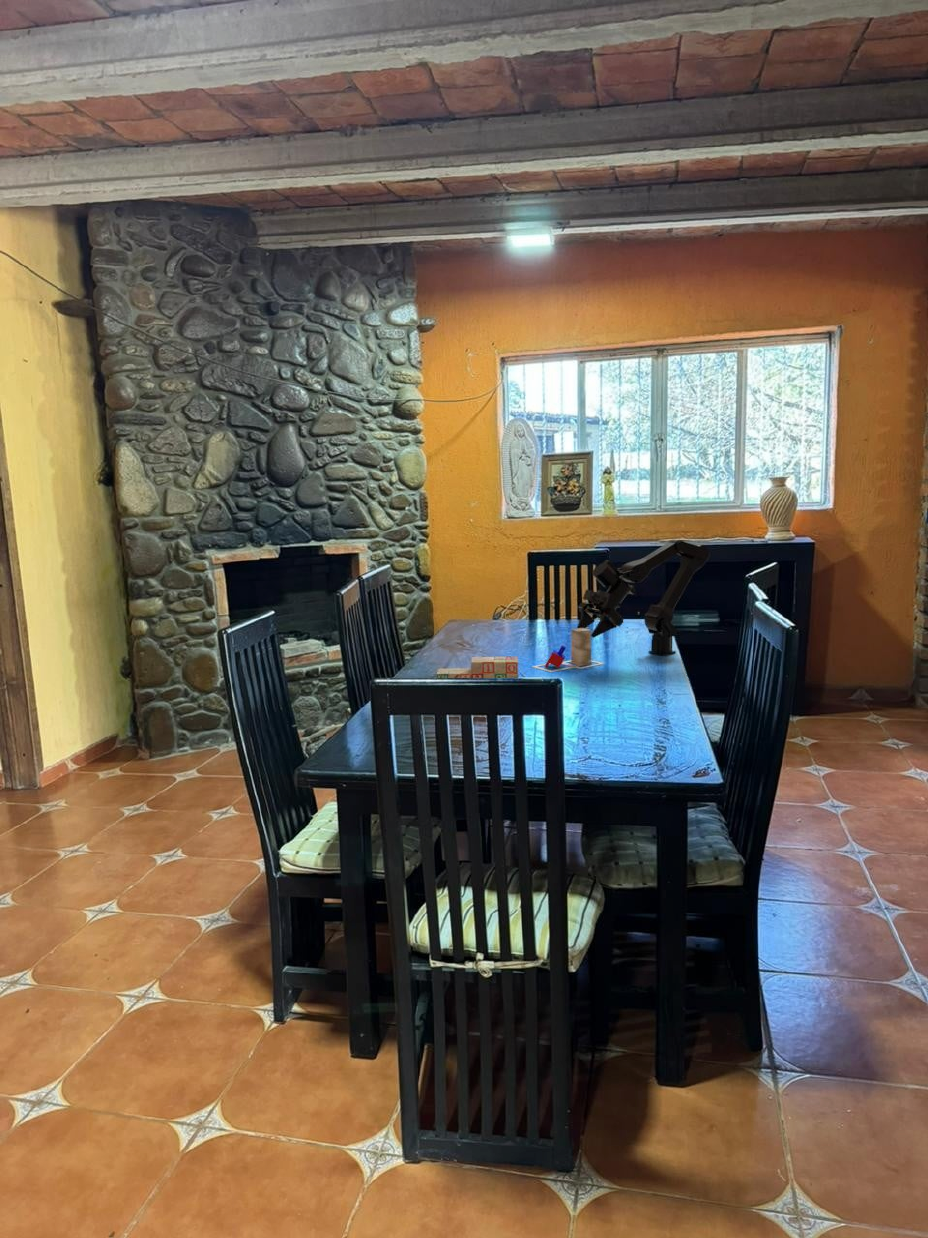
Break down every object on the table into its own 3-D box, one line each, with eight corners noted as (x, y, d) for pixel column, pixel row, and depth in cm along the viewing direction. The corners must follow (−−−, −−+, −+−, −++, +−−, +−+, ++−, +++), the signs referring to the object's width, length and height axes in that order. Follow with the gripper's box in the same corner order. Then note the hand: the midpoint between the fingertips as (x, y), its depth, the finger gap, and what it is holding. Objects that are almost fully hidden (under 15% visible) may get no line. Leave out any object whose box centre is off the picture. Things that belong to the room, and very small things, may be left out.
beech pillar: (583, 661, 259) (583, 627, 257) (591, 664, 255) (590, 630, 253) (571, 663, 257) (571, 629, 255) (578, 666, 253) (578, 631, 251)
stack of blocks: (437, 708, 212) (435, 662, 210) (439, 701, 218) (437, 657, 216) (518, 707, 210) (517, 661, 208) (518, 700, 217) (517, 656, 215)
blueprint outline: (579, 657, 264) (579, 657, 264) (604, 663, 254) (604, 663, 254) (531, 667, 254) (531, 666, 254) (555, 673, 244) (555, 673, 244)
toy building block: (556, 673, 251) (568, 651, 249) (544, 666, 252) (556, 644, 249) (557, 670, 255) (570, 648, 252) (546, 663, 255) (558, 642, 253)
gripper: (583, 577, 262) (553, 614, 260) (614, 583, 245) (583, 623, 243) (604, 598, 267) (575, 635, 264) (636, 606, 250) (606, 645, 247)
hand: (584, 634), depth 255 cm, fingers open, 9 cm apart
